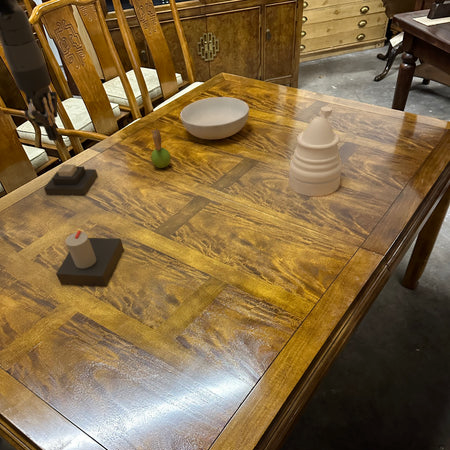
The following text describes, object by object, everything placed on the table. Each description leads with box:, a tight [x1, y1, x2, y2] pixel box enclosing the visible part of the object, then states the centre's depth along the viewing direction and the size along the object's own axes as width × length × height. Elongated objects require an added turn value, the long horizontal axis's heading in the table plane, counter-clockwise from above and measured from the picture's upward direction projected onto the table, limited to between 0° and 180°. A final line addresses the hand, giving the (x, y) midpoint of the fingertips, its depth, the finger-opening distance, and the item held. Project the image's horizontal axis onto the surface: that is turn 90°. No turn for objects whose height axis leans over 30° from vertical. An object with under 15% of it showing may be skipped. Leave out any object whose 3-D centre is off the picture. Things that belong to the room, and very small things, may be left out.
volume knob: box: [64, 230, 96, 269], centre depth 85 cm, size 4×4×6 cm
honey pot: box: [288, 106, 343, 197], centre depth 101 cm, size 13×13×18 cm
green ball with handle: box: [150, 129, 172, 169], centre depth 114 cm, size 5×6×12 cm
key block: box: [43, 166, 99, 197], centre depth 113 cm, size 11×10×4 cm
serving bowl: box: [179, 96, 250, 140], centre depth 129 cm, size 21×21×7 cm
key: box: [56, 164, 77, 177], centre depth 111 cm, size 4×4×2 cm
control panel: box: [55, 237, 125, 287], centre depth 89 cm, size 10×12×3 cm
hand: (54, 139), depth 105 cm, fingers closed
